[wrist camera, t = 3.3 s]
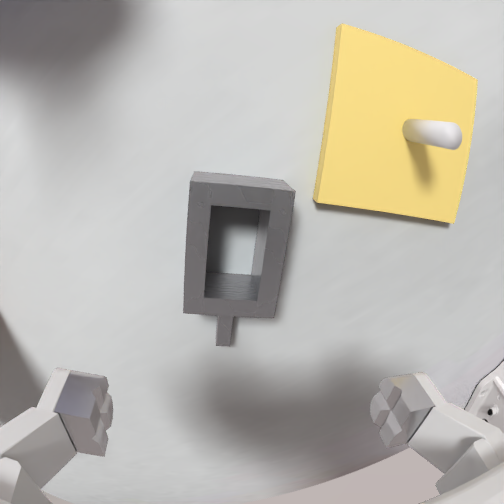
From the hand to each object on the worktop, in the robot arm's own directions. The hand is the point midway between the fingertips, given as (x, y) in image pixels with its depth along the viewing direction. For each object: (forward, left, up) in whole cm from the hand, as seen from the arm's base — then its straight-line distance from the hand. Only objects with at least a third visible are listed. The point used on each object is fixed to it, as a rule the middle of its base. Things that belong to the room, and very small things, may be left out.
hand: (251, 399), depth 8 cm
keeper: (+9, -11, -14) cm, 20 cm away
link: (-2, 0, -14) cm, 14 cm away
